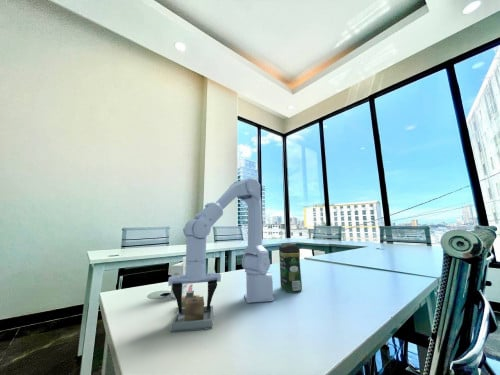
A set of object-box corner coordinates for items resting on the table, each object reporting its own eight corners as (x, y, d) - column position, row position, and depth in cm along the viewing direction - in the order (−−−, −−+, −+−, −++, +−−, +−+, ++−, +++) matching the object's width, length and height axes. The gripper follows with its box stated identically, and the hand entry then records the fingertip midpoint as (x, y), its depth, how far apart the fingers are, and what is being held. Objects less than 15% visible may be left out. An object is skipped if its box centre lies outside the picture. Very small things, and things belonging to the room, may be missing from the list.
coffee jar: (278, 286, 90) (276, 242, 93) (295, 285, 91) (293, 242, 94) (285, 293, 80) (283, 244, 84) (304, 292, 82) (302, 243, 85)
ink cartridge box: (181, 290, 86) (183, 254, 89) (192, 291, 85) (193, 254, 88) (169, 297, 78) (171, 257, 81) (181, 298, 77) (183, 257, 80)
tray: (213, 312, 64) (213, 305, 64) (212, 328, 54) (212, 320, 54) (178, 315, 62) (178, 308, 63) (171, 332, 52) (171, 323, 53)
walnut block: (203, 314, 61) (203, 296, 62) (203, 322, 57) (203, 301, 58) (185, 316, 60) (186, 297, 61) (184, 324, 55) (185, 303, 56)
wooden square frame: (199, 304, 71) (199, 294, 72) (197, 310, 66) (198, 300, 66) (182, 305, 70) (182, 295, 71) (179, 312, 65) (179, 301, 65)
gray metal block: (193, 306, 69) (193, 290, 70) (192, 309, 67) (193, 292, 68) (186, 307, 69) (187, 291, 69) (185, 309, 66) (186, 293, 67)
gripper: (219, 256, 67) (218, 302, 64) (171, 259, 63) (169, 307, 61) (221, 260, 60) (221, 311, 58) (168, 263, 57) (165, 317, 54)
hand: (194, 310), depth 59 cm, fingers open, 7 cm apart
